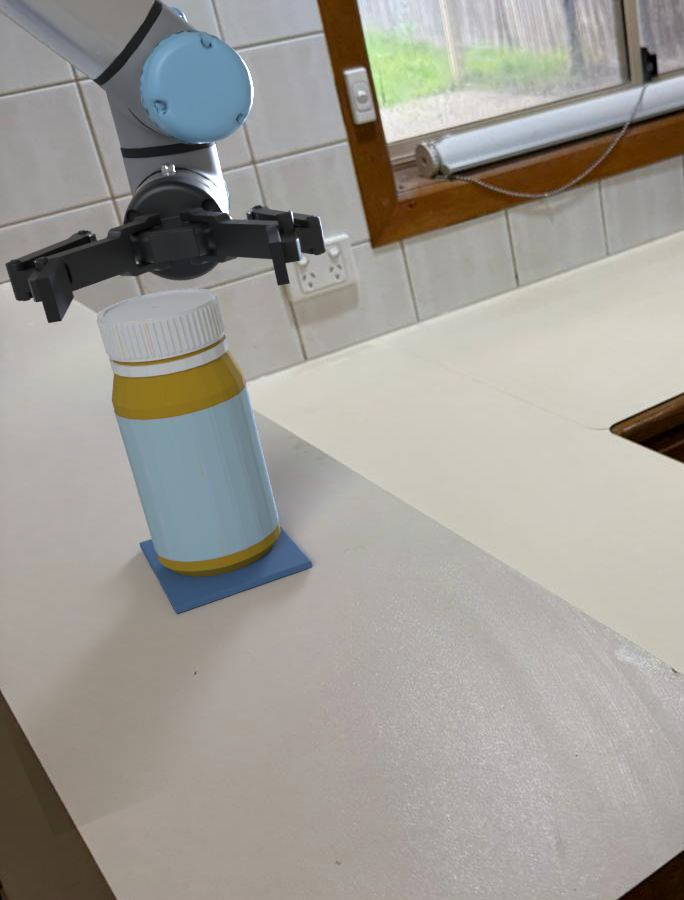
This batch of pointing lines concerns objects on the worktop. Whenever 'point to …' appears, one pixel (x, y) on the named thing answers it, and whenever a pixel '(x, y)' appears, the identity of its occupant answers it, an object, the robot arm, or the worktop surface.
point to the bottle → (189, 432)
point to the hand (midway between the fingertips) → (166, 281)
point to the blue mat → (227, 575)
